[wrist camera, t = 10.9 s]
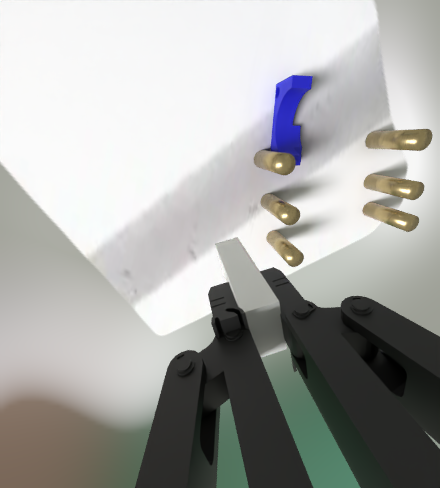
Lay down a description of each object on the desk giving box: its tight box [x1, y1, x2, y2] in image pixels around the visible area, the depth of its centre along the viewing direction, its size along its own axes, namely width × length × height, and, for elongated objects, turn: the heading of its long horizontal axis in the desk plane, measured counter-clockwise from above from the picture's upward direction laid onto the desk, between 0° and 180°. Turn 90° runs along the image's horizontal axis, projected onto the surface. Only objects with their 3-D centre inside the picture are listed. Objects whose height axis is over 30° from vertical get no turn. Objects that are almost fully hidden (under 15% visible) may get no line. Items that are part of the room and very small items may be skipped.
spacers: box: [254, 129, 432, 267], centre depth 42 cm, size 19×25×10 cm
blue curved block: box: [271, 75, 313, 165], centre depth 38 cm, size 12×4×6 cm, turn 0°
